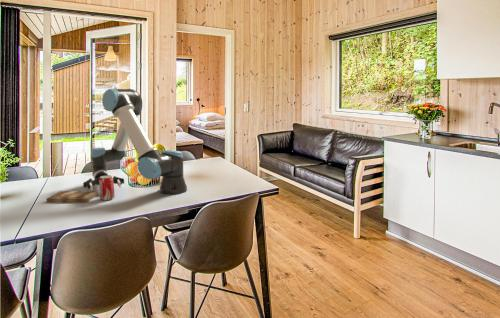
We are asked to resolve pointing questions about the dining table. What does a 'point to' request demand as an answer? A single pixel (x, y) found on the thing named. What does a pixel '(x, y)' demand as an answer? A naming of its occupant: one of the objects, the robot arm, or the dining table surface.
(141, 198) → the dining table surface
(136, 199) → the dining table surface
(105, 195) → the soda can
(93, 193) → the drinks board
